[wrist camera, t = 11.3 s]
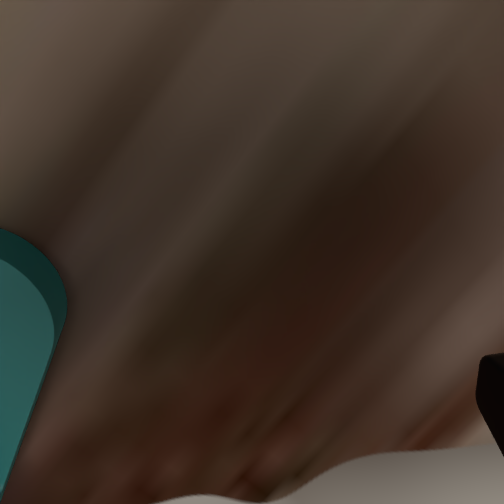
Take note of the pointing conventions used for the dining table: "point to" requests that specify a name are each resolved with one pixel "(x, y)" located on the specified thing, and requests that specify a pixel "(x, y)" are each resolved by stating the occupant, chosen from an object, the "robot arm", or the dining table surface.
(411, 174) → the dining table surface
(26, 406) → the bracket
